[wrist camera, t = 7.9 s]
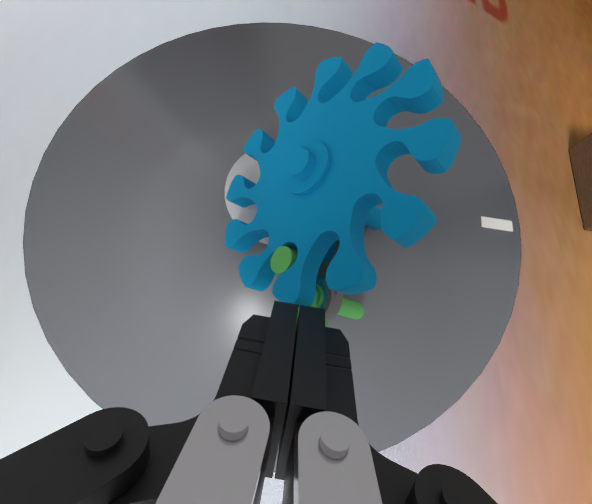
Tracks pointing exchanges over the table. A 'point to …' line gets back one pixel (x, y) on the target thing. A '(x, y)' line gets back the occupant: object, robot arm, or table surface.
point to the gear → (338, 180)
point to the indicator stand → (583, 178)
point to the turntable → (224, 261)
